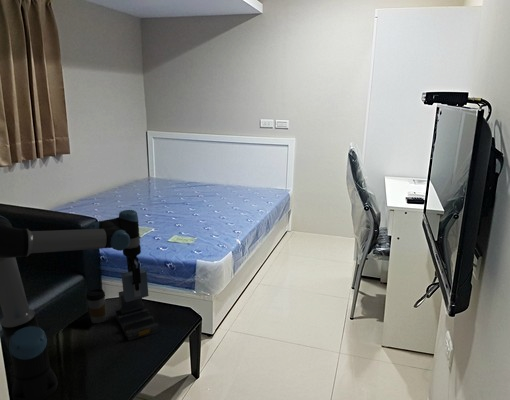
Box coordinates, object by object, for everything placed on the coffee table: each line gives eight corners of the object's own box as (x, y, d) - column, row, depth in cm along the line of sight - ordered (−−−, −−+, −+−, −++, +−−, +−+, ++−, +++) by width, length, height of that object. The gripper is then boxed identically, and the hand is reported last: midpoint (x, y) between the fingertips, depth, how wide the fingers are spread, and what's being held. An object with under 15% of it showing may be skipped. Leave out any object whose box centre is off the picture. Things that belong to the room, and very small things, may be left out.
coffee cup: (93, 315, 205) (90, 287, 201) (110, 316, 205) (107, 288, 201) (86, 324, 197) (82, 296, 193) (103, 325, 197) (100, 296, 193)
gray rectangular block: (126, 302, 183) (123, 277, 180) (123, 298, 186) (121, 273, 183) (148, 296, 188) (146, 271, 185) (145, 292, 191) (143, 268, 188)
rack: (128, 341, 185) (126, 314, 181) (115, 315, 206) (112, 290, 202) (159, 332, 192) (157, 305, 188) (143, 307, 213) (141, 283, 209)
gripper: (145, 250, 175) (150, 299, 182) (134, 237, 189) (138, 284, 196) (127, 253, 171) (132, 304, 178) (117, 240, 186) (122, 288, 192)
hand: (135, 293), depth 187 cm, fingers closed on gray rectangular block, 4 cm apart
